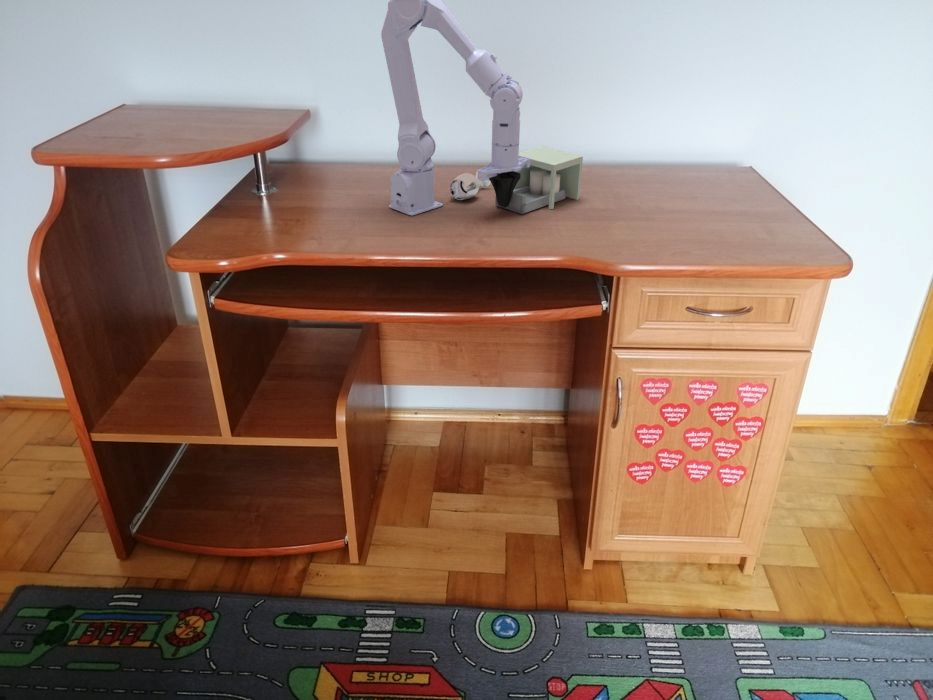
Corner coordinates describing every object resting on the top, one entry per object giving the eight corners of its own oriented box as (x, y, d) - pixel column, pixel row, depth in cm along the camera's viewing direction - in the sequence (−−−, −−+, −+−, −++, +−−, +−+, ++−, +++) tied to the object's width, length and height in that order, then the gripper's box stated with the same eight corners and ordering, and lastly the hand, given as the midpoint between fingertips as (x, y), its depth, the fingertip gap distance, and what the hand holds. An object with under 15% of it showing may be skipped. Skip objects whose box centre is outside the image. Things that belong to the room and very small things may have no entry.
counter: (551, 209, 156) (554, 165, 151) (511, 196, 163) (513, 154, 158) (579, 199, 162) (582, 156, 157) (539, 187, 169) (541, 146, 164)
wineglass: (488, 194, 169) (463, 207, 160) (469, 181, 170) (444, 193, 161) (498, 174, 165) (473, 185, 156) (478, 160, 166) (453, 171, 157)
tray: (522, 214, 153) (523, 188, 150) (495, 205, 157) (496, 180, 155) (565, 198, 162) (567, 174, 159) (538, 190, 166) (540, 166, 164)
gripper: (495, 153, 140) (493, 218, 147) (542, 140, 148) (538, 202, 155) (470, 146, 144) (470, 210, 151) (517, 134, 153) (515, 194, 160)
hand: (503, 205), depth 153 cm, fingers closed
